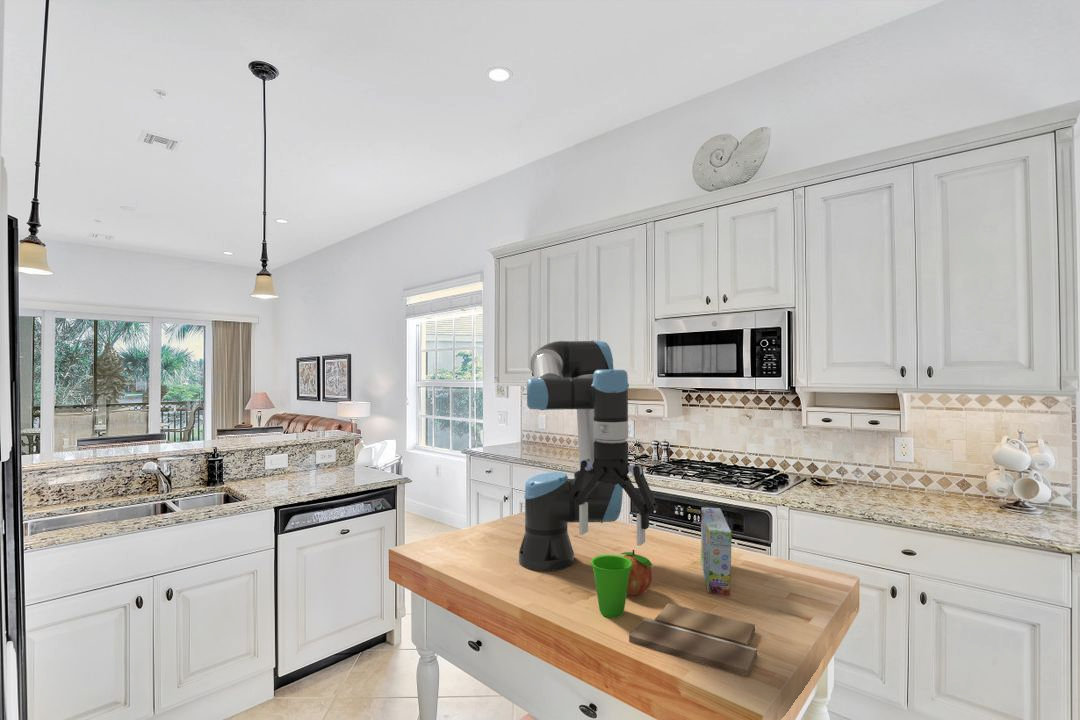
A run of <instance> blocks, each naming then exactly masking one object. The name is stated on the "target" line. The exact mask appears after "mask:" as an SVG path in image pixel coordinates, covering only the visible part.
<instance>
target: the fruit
mask: <svg viewBox="0 0 1080 720" xmlns="http://www.w3.org/2000/svg"><path fill="white" fill-rule="evenodd" d="M620 555H621V556H623V557H626V558H628V559H630V560H631V561H632V564H633V565H632V567H631V568H630V575H629V581H628V588H627V595H630V596H640V595H643V594H644V593H646V592H647V591H648V590H649V588H650V586H651V584H652V581H653V571H652V565H653V564H652V562H651V561H650V559H649V558H647V557H645V556H643V555H640V554H636V553H635V549H632V552H631V551H624V552H622V553H620Z"/></svg>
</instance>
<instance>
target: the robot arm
mask: <svg viewBox="0 0 1080 720" xmlns="http://www.w3.org/2000/svg"><path fill="white" fill-rule="evenodd" d="M612 353H613V352H612V350H611V347H610V345H609V344H608V342H605V341H601V340H600V341H599V340H598V341H597V340H581V341H580V340H568V341H567V340H557V341H553V342H552V341H551V342H549V343H547V344H544V345H543V346H541V347H540V348H538V349H536V350H535V352H534V353H533V354H532V356H531V358H530V362H529V363H530V364H529V366H530V371H531V373H532V374H533V377H530V378H529V379H527V381H526V406H527V408H528V409H530V410H537V411H538V410H539V411H549V410H551V411H552V410H555V411H556V410H557V411H558V410H576V419H577V420H576V421H577V425H576V426H577V443H578V444H577V445H578V465H579V466H578V468H577V469H576V470H575V471H574V473H573V478H569V477H568V475H567V473H564V472H546V473H545V472H544V473H542V474H537V475H534V476H532V477H530V478H528V479H527V481H526V483H525V485H524V487H525V488H524V495H523V498H524V500H525V501H524V502H525V503H524V504H525V505H524V510H525V511H524V535H523V538H522V542H521V545H520V547H519V551H518V561H519V564H520V565H522V566H523V567H524V568H527V569H530V570H536V571H546V572H547V571H548V572H550V571H558V570H562V569H566V568H568V567H570V566H572V565H573V564H574V562H575V551H574V549H573V545H572V541H571V538H570V536H569V534H568V533H569V532H568V524H569V523H579V526H578V527H579V530H578V531H579V533H578V535H581V536H583V535H584V534H586V533H588V532H589V523H600V524H603V523H610V522H611V523H612V522H615V521H617V520H618V519H619V517H620V515H621V511H622V506H623V505H622V504H623V494H624V491H625V493H626V494H627V497H629V499H630V500H631V501H632V503H633V504H634V506H635V507H636V508H637V510H638V512H637V513H636V546H638V547H640V546H642V545H644V544H645V543H646V530H647V529H649V527H650V513H654V512H655V511H657V510H658V509H659V506H658V504H657V501H656V499H655V497H654V494H653V493H652V490H651V488H650V486H649V483H648V481H647V480H646V476H645V474H644V467H643V465H642V464H640V463H639V464H637V465H630V463H629V442H628V441H627V440H629V387H630V385H629V380H628V379H629V378H628V376H629V375H628V373H627V371H626V370H624V369H615V367H614V359H613V354H612ZM629 473H630V474H631V475H632V476H633V478H634V481H635V483H636V485H637V488H638V490H639V491H638V490H637V488H636V487H635V485H633V483H632V480H631V478H630V477H629V475H628V474H629Z"/></svg>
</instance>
